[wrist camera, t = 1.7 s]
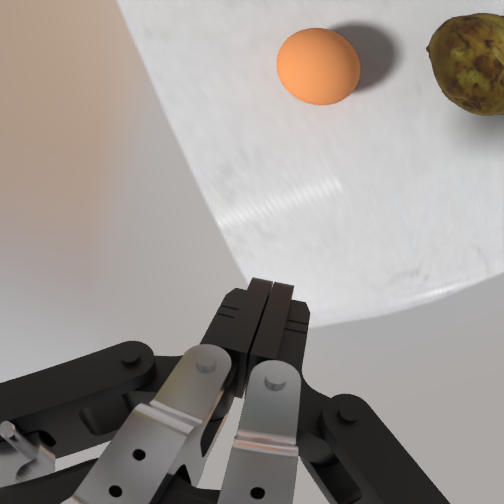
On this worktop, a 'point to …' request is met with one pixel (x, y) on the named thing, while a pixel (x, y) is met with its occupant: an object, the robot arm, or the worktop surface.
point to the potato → (471, 62)
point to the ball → (318, 66)
